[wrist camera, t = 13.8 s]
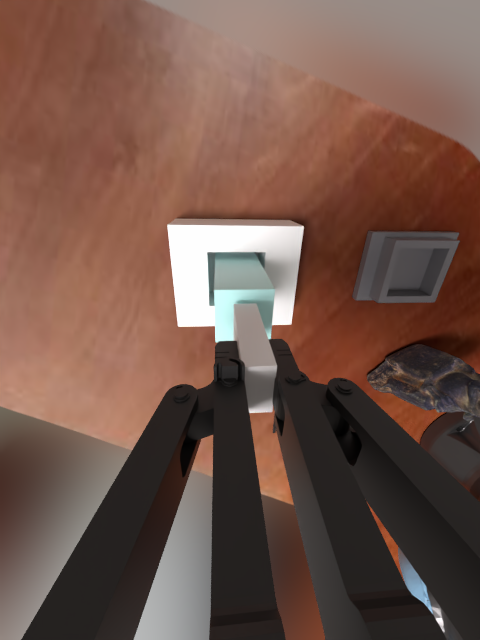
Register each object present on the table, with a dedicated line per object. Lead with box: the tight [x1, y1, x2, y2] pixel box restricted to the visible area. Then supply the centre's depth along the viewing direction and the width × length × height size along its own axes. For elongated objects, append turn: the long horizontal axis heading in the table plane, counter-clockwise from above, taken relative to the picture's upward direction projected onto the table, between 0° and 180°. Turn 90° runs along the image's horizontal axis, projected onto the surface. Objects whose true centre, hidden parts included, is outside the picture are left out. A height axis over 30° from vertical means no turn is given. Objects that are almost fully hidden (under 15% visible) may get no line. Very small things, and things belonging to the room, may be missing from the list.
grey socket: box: [352, 231, 460, 303], centre depth 29 cm, size 10×8×3 cm
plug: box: [214, 252, 275, 342], centre depth 23 cm, size 4×4×12 cm
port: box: [167, 218, 304, 327], centre depth 27 cm, size 12×10×5 cm
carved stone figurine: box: [367, 344, 480, 421], centre depth 31 cm, size 6×12×15 cm, turn 118°
